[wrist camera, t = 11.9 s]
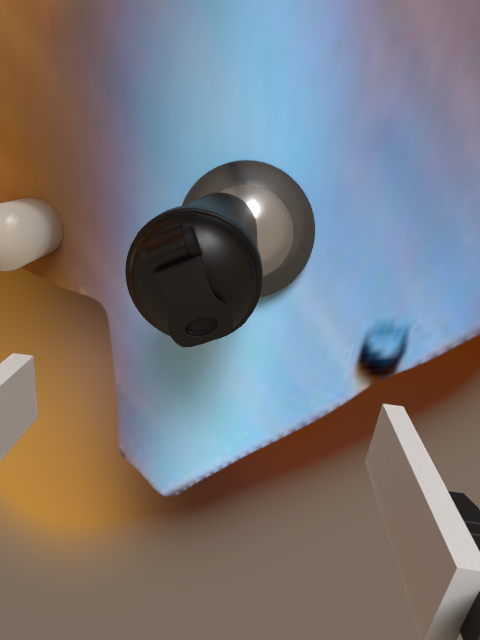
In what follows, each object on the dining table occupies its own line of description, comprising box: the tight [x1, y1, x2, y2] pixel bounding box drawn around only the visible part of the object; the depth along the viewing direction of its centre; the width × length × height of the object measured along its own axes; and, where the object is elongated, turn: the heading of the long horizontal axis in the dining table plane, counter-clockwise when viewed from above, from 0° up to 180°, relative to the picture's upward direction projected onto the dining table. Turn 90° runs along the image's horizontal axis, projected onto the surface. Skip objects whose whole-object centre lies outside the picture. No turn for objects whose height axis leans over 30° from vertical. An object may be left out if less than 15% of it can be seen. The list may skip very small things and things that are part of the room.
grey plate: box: [182, 160, 315, 297], centre depth 50 cm, size 16×16×2 cm
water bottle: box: [126, 193, 263, 347], centre depth 39 cm, size 10×10×23 cm
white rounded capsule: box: [0, 197, 64, 271], centre depth 49 cm, size 7×7×8 cm
